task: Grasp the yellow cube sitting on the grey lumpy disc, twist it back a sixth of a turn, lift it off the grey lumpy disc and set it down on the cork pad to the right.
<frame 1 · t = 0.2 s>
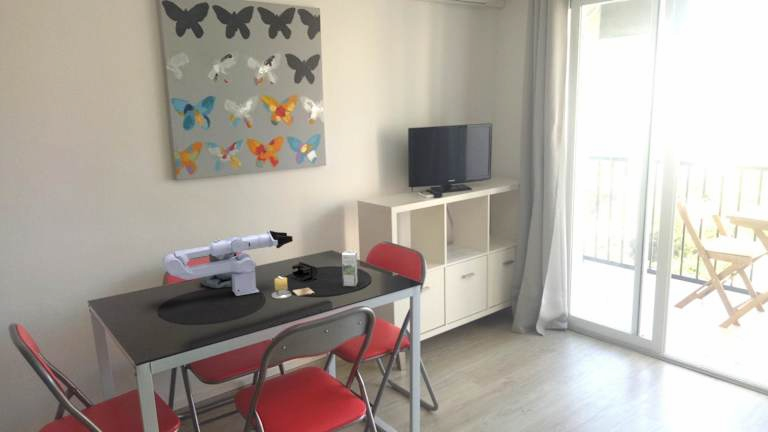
hand: (289, 236, 232), 21 cm above the table, tool horizontal, fingers open, 7 cm apart
syrup box: (350, 285, 235), on the table
black open frame block: (305, 279, 244), on the table
pad: (303, 292, 226), on the table
koala plush: (222, 284, 239), on the table
yellow cube: (281, 288, 222), point 3 cm above the table, touching grey lumpy disc
grey lumpy disc: (281, 295, 223), on the table
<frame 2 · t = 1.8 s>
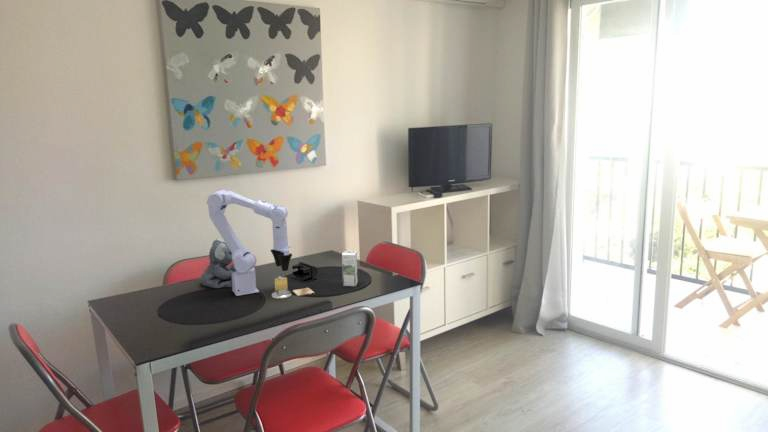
hand: (282, 268, 224), 10 cm above the table, tool pointing down, fingers open, 7 cm apart
nothing on the table moved.
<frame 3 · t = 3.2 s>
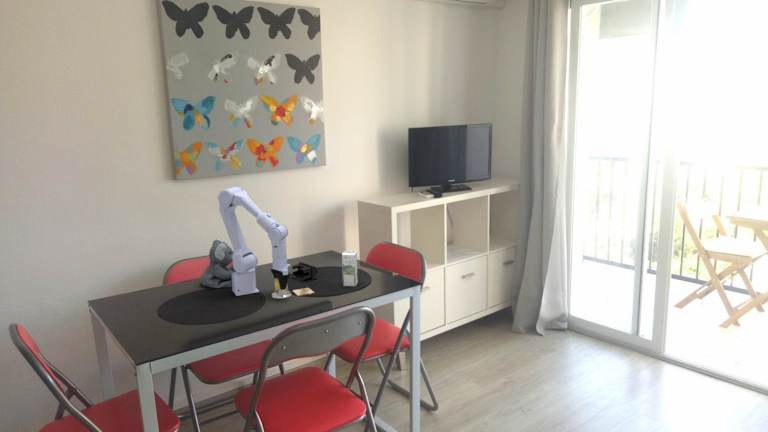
hand: (281, 287, 222), 3 cm above the table, tool pointing down, fingers closed on yellow cube, 5 cm apart
yellow cube: (281, 288, 222), point 3 cm above the table, touching gripper, grey lumpy disc
everything else where it was.
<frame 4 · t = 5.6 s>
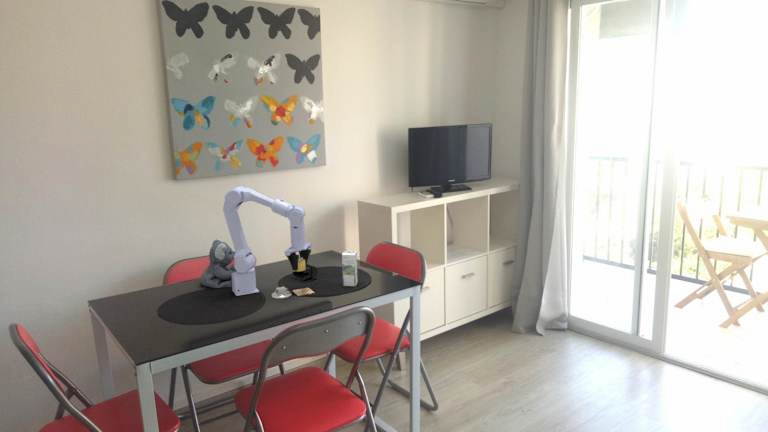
hand: (299, 268, 223), 11 cm above the table, tool pointing down, fingers closed on yellow cube, 5 cm apart
yellow cube: (299, 269, 223), point 10 cm above the table, touching gripper
everything else where it was.
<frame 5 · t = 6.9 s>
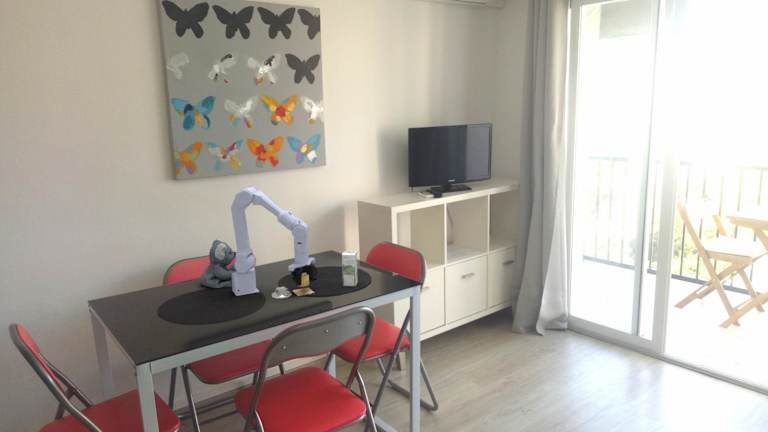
hand: (303, 283, 225), 4 cm above the table, tool pointing down, fingers closed on yellow cube, 5 cm apart
yellow cube: (303, 284, 225), point 3 cm above the table, touching gripper
everything else where it was.
when the fingers open (2 cm above the table, at t = 7.8 s): yellow cube drops 1 cm, resting on pad.
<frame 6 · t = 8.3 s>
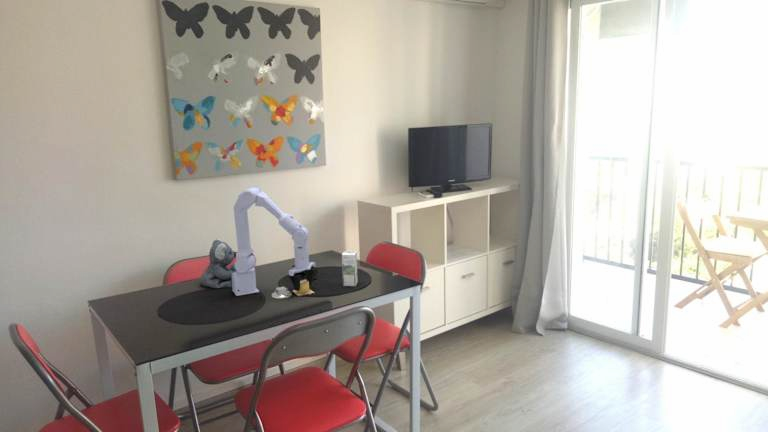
hand: (303, 287, 225), 2 cm above the table, tool pointing down, fingers open, 7 cm apart
yellow cube: (303, 291, 226), resting on pad
everything else where it was.
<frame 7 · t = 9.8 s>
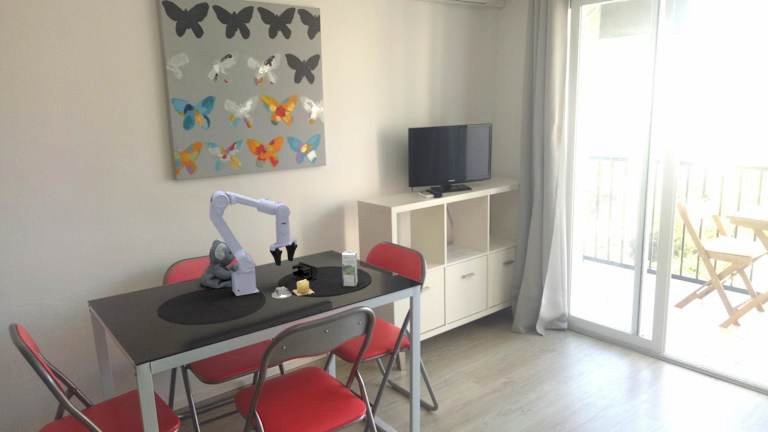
hand: (284, 263, 231), 10 cm above the table, tool pointing down, fingers open, 7 cm apart
nothing on the table moved.
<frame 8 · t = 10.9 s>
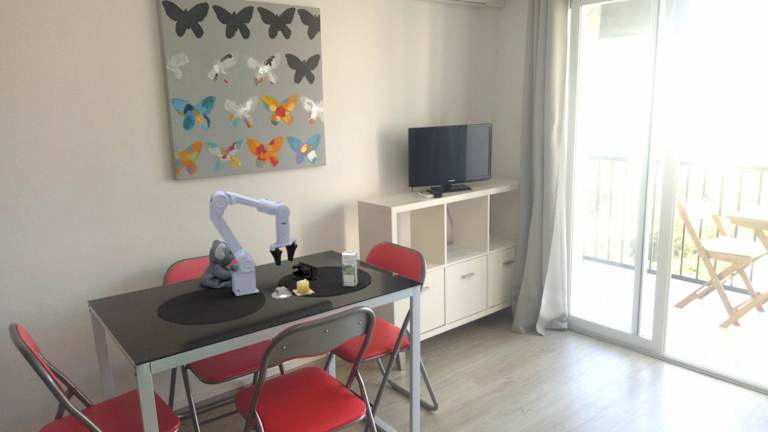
hand: (284, 263, 231), 10 cm above the table, tool pointing down, fingers open, 7 cm apart
nothing on the table moved.
at the end: yellow cube inside the target area on the pad (0.0 cm from its centre), point 0.4 cm above the pad's base; yellow cube tilted 0°; the gripper is holding nothing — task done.
